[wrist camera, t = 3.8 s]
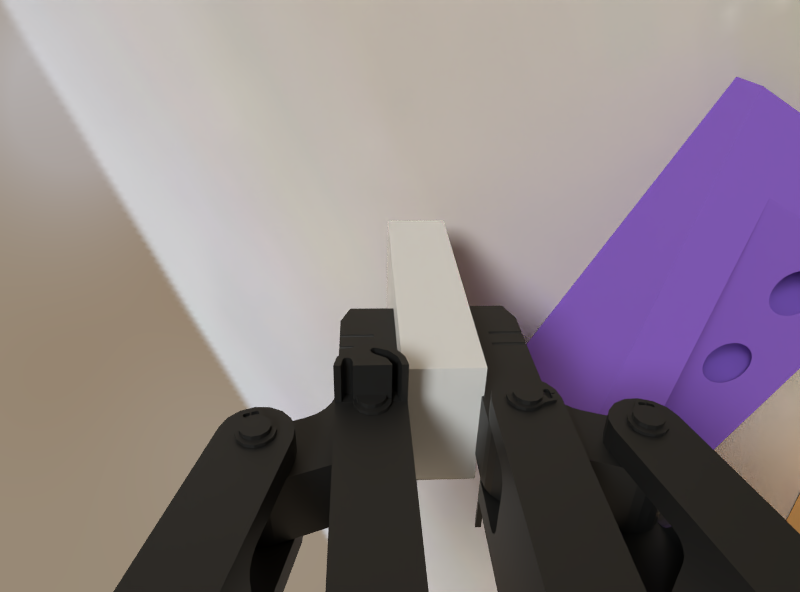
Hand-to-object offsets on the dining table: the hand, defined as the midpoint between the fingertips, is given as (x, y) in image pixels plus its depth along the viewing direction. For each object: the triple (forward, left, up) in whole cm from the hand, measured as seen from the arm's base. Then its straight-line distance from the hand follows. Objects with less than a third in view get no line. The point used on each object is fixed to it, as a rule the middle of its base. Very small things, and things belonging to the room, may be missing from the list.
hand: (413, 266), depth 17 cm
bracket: (-9, +2, -2) cm, 9 cm away
